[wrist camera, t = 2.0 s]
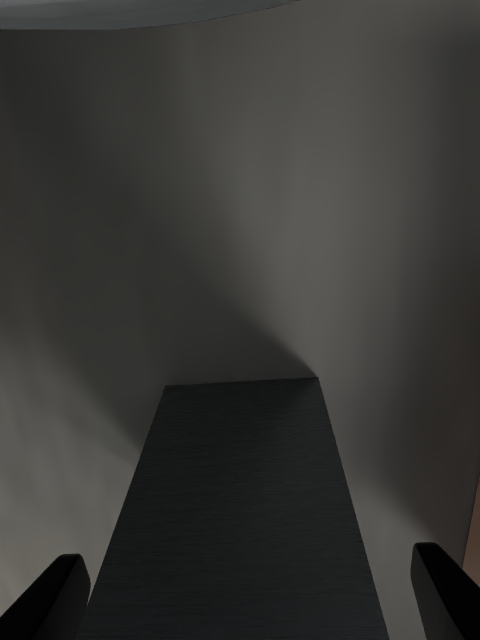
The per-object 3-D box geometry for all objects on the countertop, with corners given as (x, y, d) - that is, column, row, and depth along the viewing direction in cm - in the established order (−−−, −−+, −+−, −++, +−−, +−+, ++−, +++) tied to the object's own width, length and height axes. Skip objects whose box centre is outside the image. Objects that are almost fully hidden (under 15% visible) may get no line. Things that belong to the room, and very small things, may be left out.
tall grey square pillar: (319, 493, 12) (511, 1521, 3) (186, 499, 13) (5, 1466, 3) (317, 377, 11) (691, 1753, 2) (165, 386, 11) (-276, 1617, 2)
